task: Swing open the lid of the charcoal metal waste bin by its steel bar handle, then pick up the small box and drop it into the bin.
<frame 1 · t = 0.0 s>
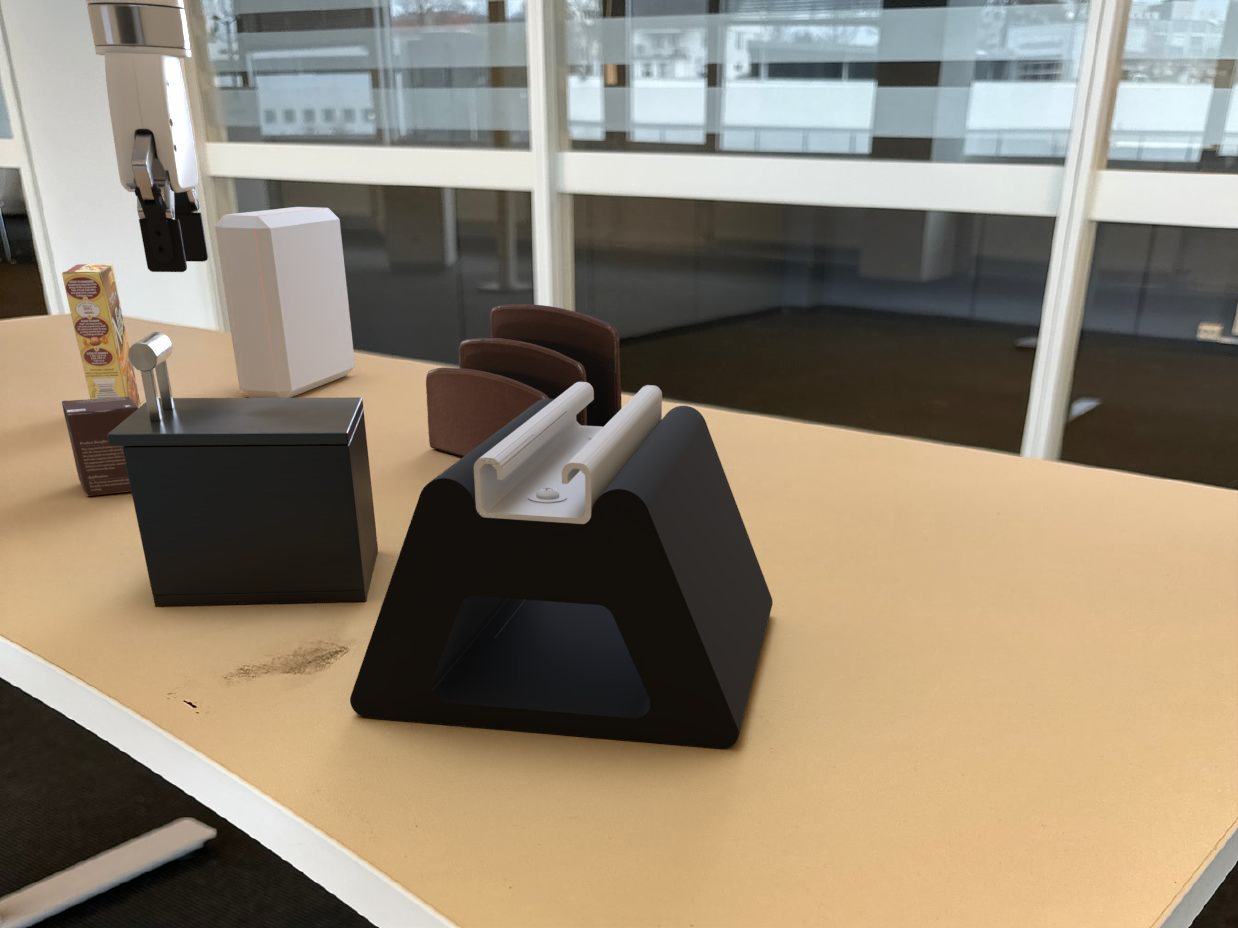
hand: (179, 265, 110), 18 cm above the table, tool pointing down, fingers open, 9 cm apart
candy box: (118, 416, 142), on the table
bin lid: (238, 382, 85), point 14 cm above the table, hinge at 0.0°
bevelled white case: (297, 387, 159), on the table
device stand: (583, 664, 79), on the table
letter holder: (524, 460, 127), on the table
waste bin: (273, 576, 92), on the table
box: (117, 489, 114), on the table
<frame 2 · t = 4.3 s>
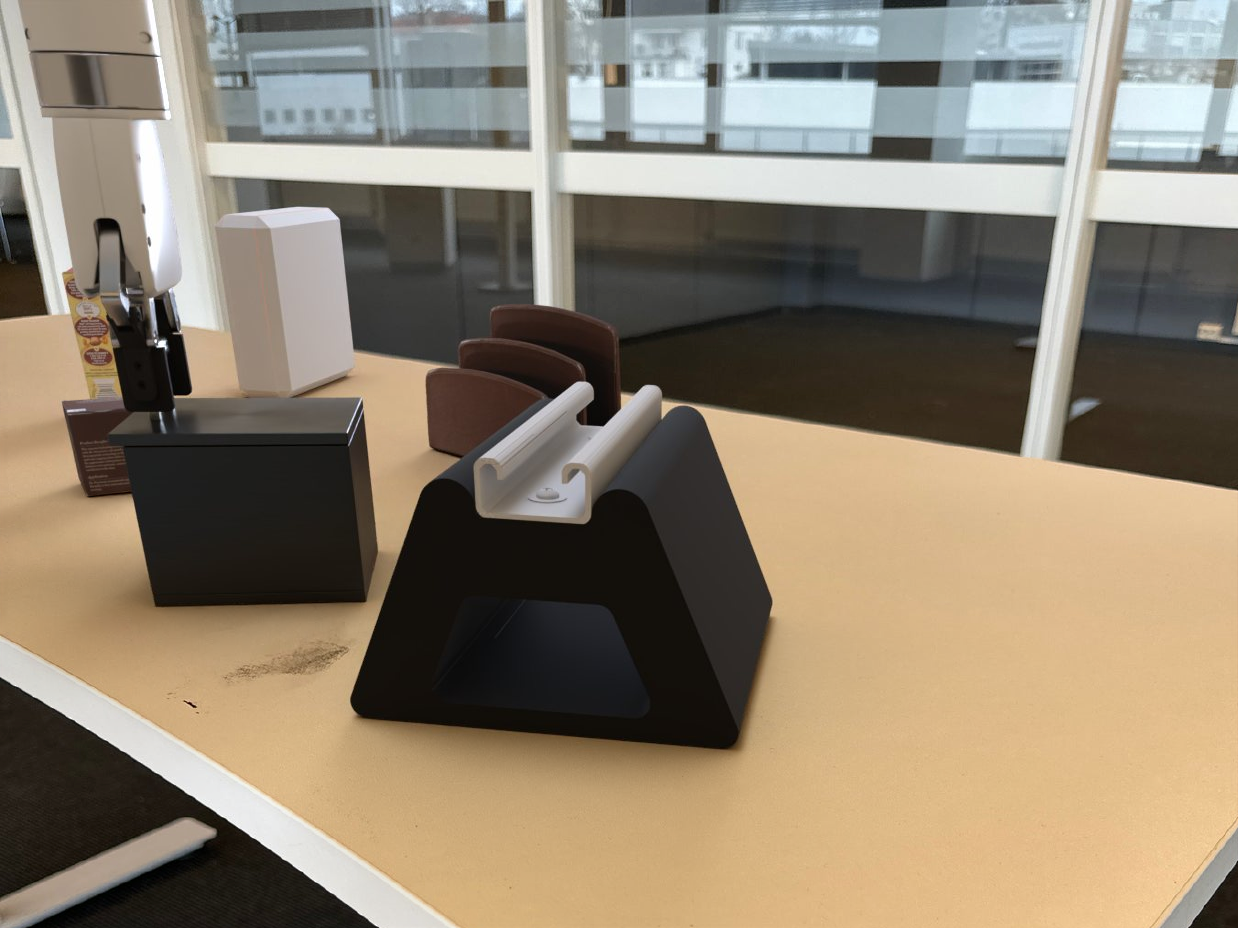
hand: (159, 399, 85), 13 cm above the table, tool pointing down, fingers closed on bin lid, 5 cm apart
bin lid: (238, 382, 85), point 14 cm above the table, hinge at 0.0°, touching gripper
everything else where it was.
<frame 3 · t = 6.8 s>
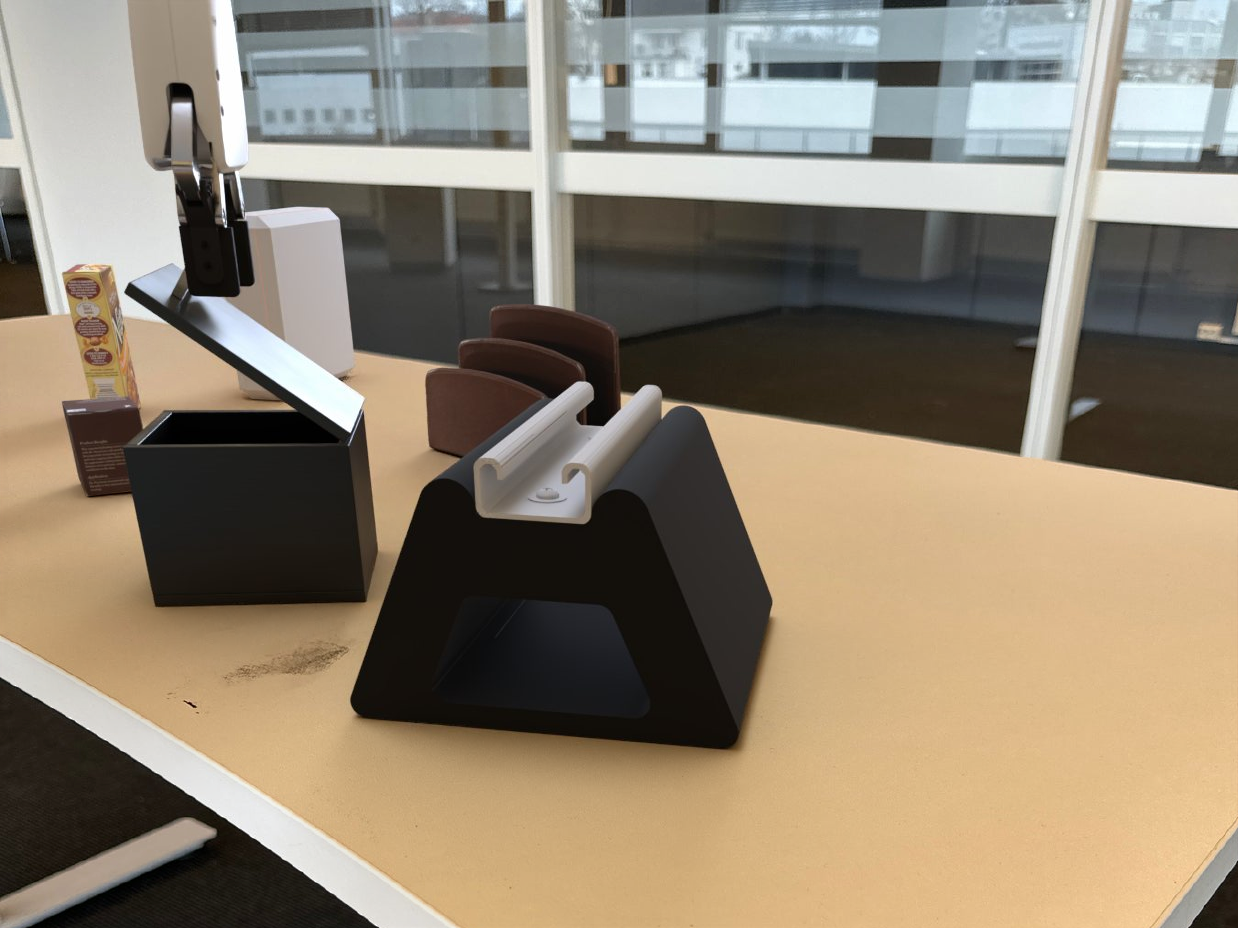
hand: (223, 287, 82), 20 cm above the table, tool pointing down, fingers closed on bin lid, 5 cm apart
bin lid: (274, 318, 83), point 18 cm above the table, hinge at 36.2°, touching gripper
everything else where it was.
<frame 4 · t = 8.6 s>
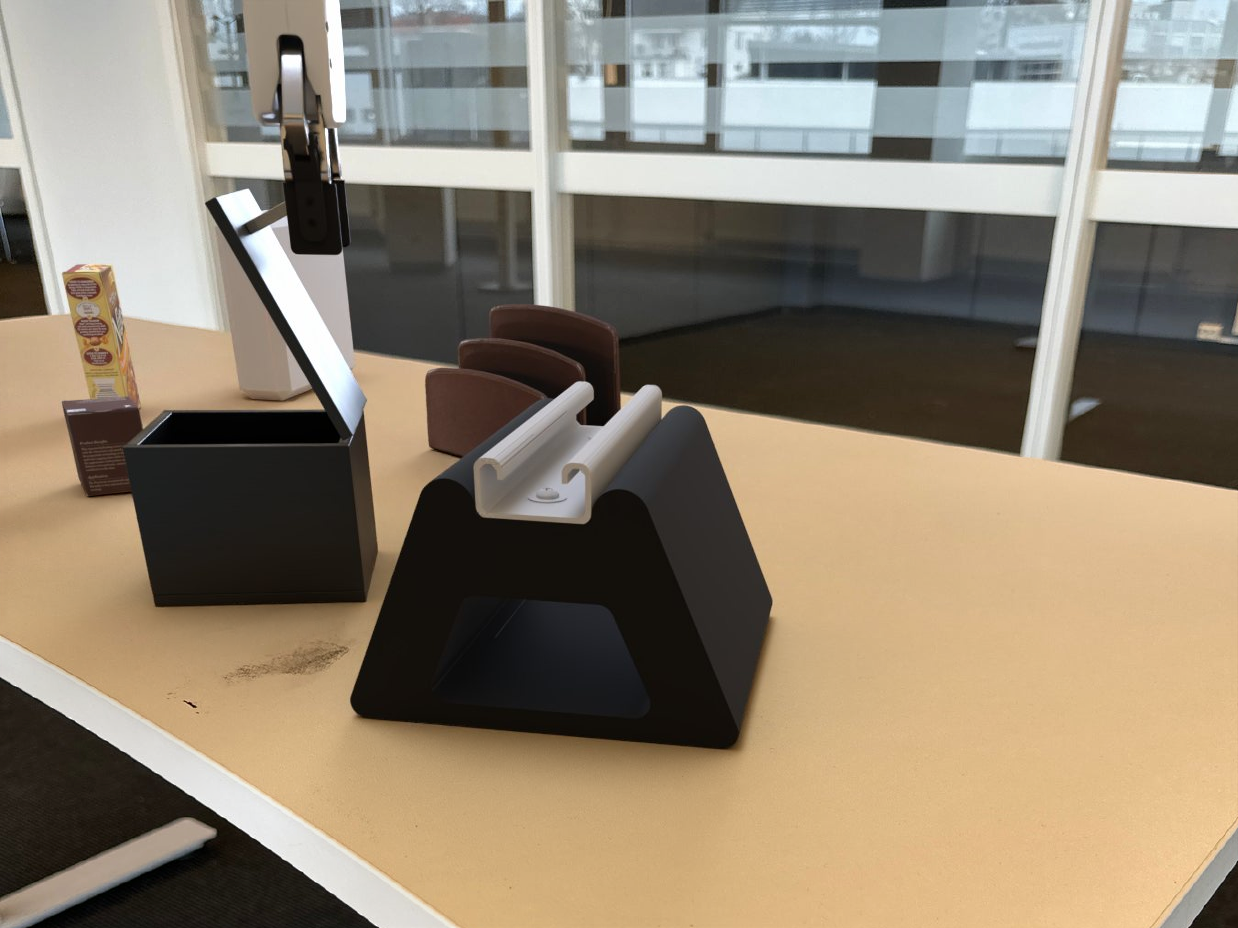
hand: (322, 246, 81), 22 cm above the table, tool pointing down, fingers closed on bin lid, 5 cm apart
bin lid: (326, 295, 83), point 19 cm above the table, hinge at 64.5°, touching gripper
everything else where it was.
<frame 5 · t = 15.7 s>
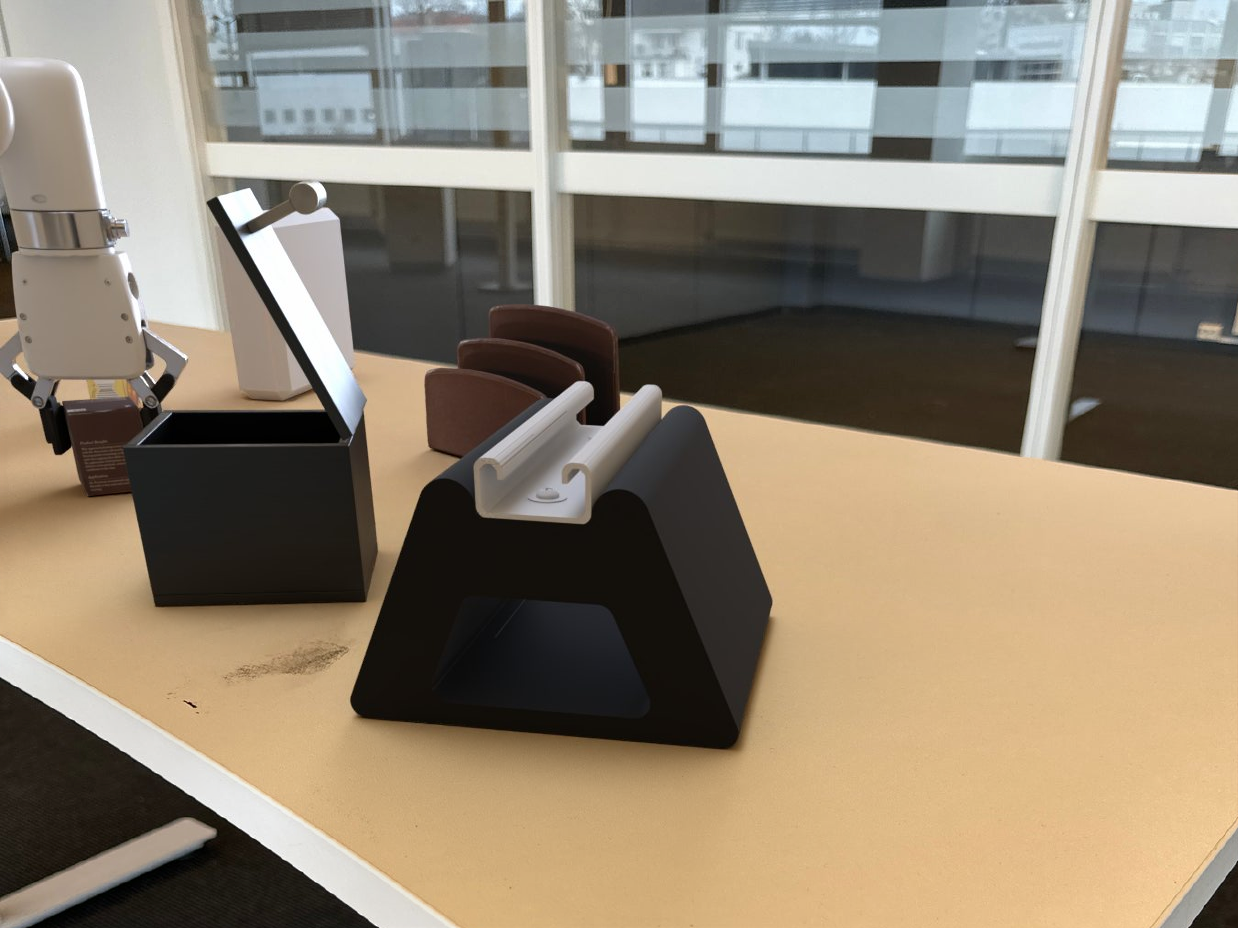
hand: (109, 450, 112), 3 cm above the table, tool pointing down, fingers closed on box, 7 cm apart
bin lid: (327, 295, 83), point 19 cm above the table, hinge at 64.9°
box: (117, 489, 114), on the table, touching gripper
everything else where it was.
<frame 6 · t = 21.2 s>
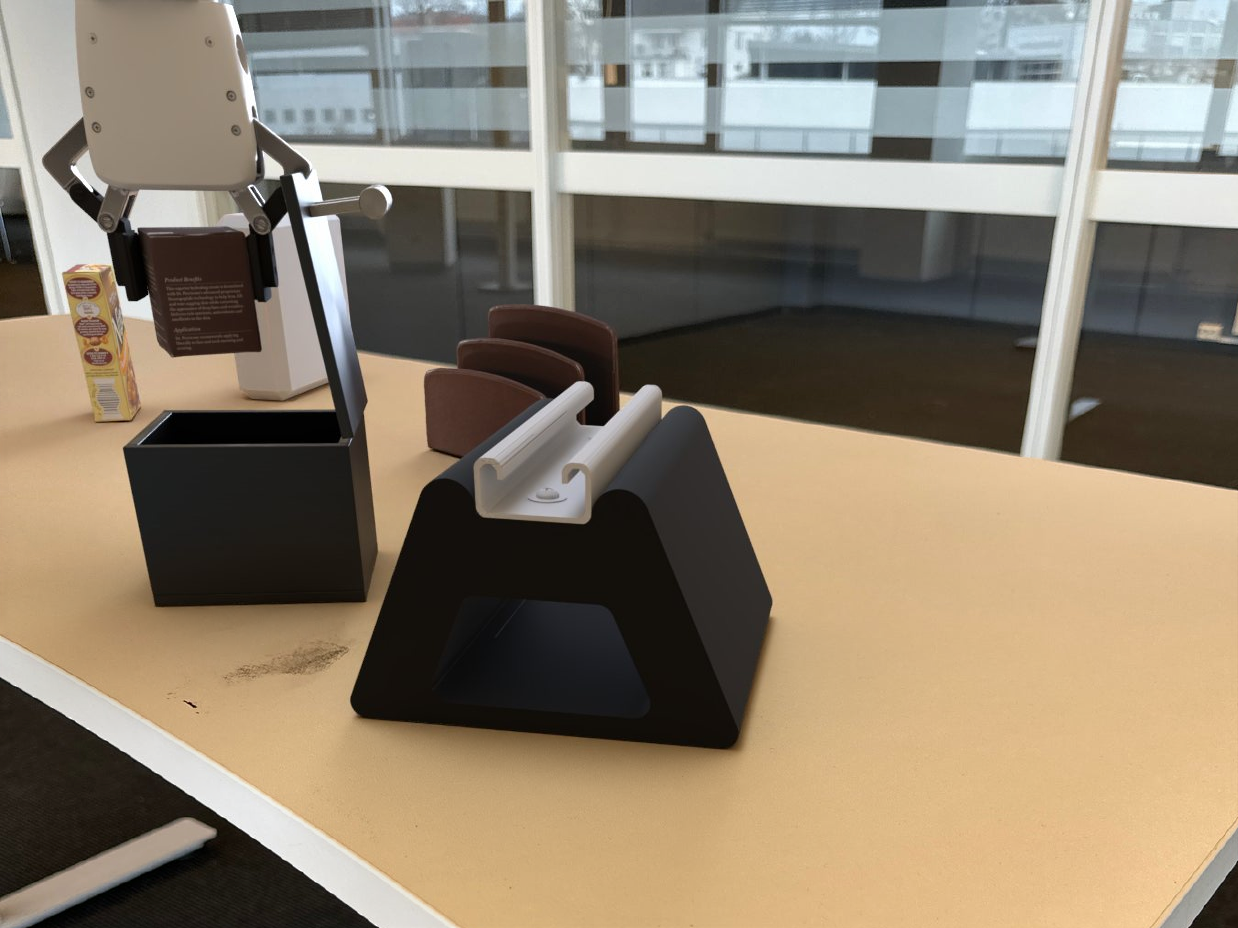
hand: (201, 297, 82), 19 cm above the table, tool pointing down, fingers closed on box, 7 cm apart
bin lid: (365, 296, 83), point 19 cm above the table, hinge at 82.6°
box: (210, 353, 84), point 16 cm above the table, touching gripper
everything else where it was.
when the fingers open (15 cm above the table, at t = 23.2 s): box drops 11 cm, resting on waste bin.
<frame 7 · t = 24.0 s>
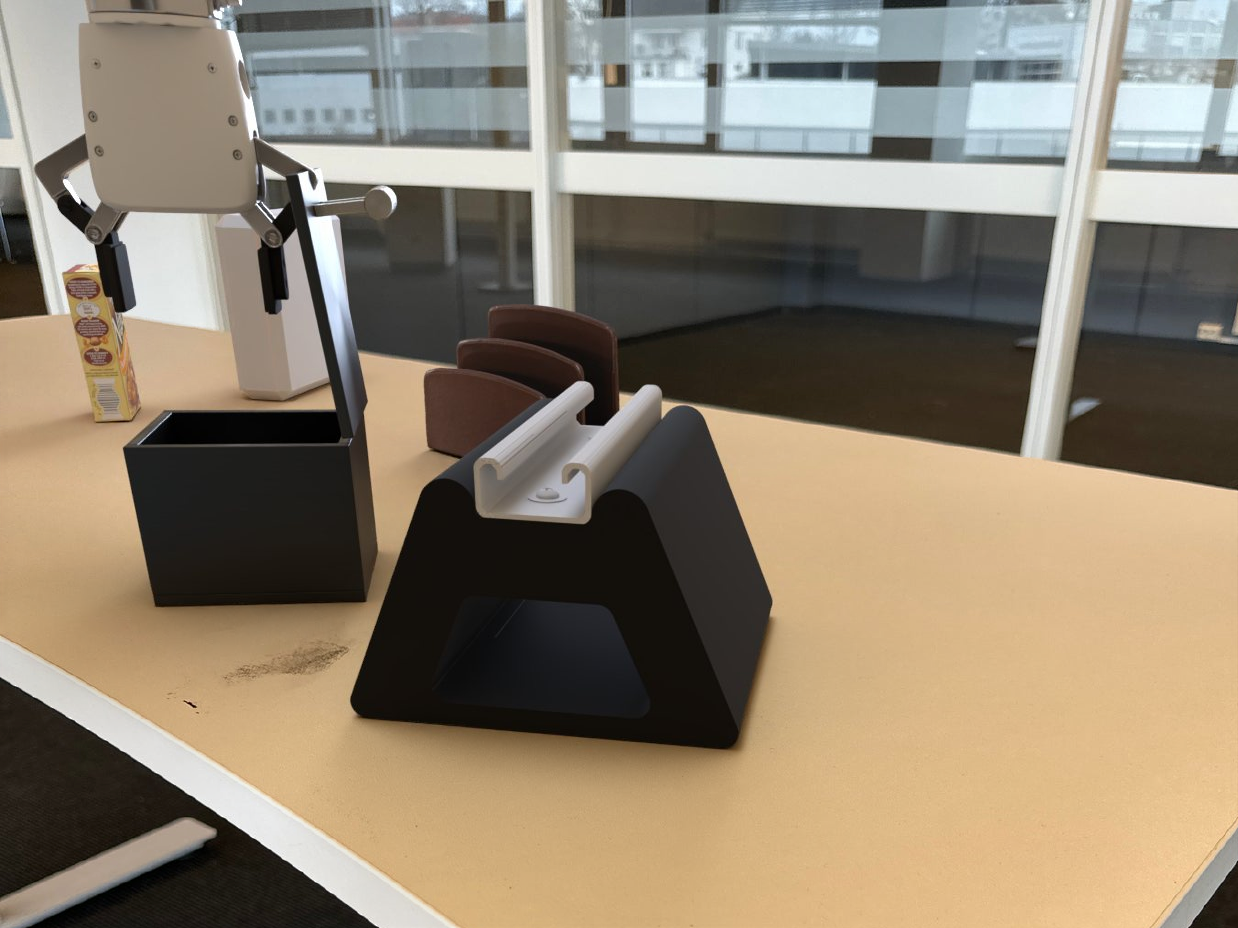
hand: (200, 310, 82), 18 cm above the table, tool pointing down, fingers open, 9 cm apart
bin lid: (368, 297, 83), point 19 cm above the table, hinge at 84.0°
box: (235, 570, 91), point 1 cm above the table, touching waste bin
everything else where it was.
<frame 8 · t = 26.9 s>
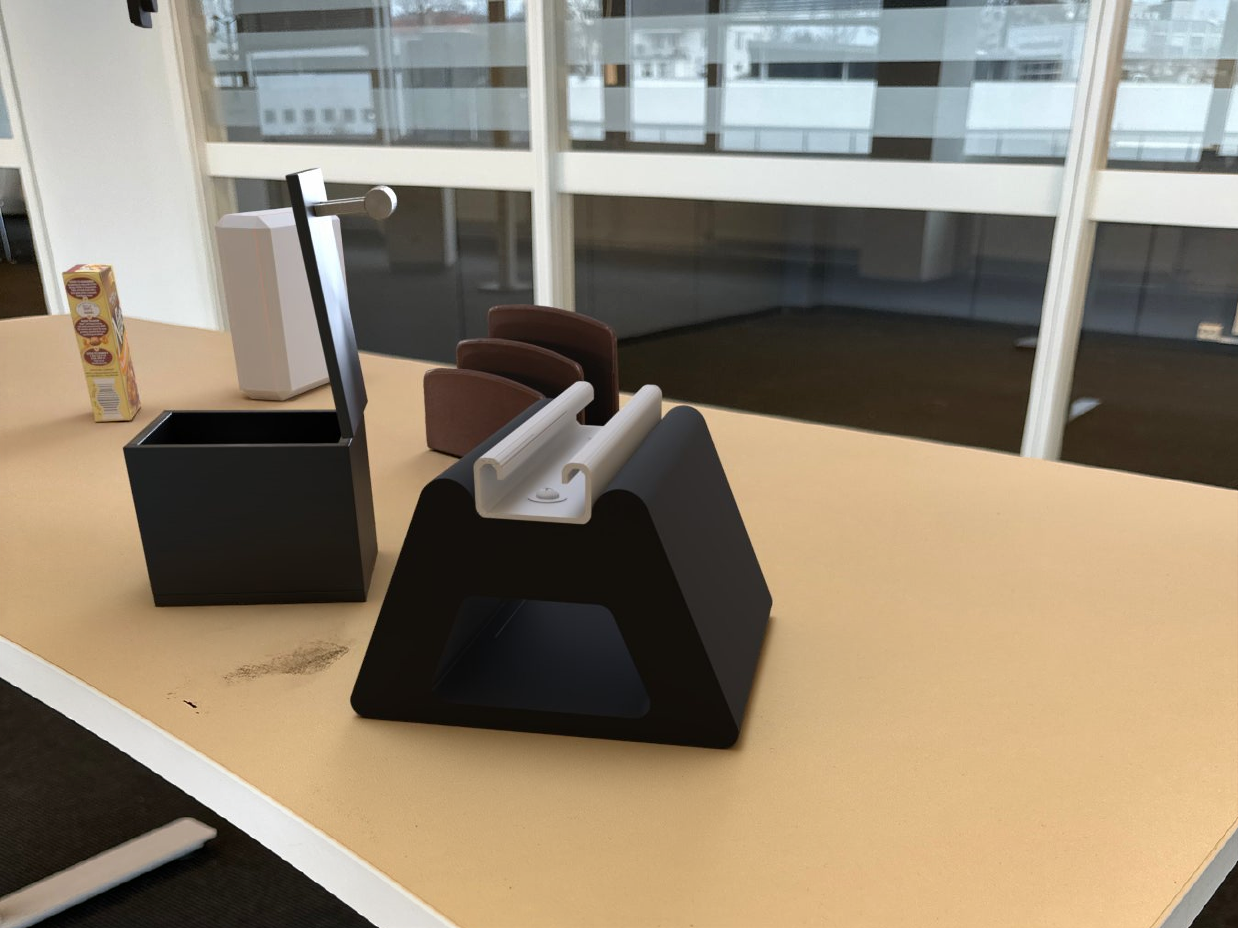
hand: (63, 24, 78), 34 cm above the table, tool pointing down, fingers open, 9 cm apart
nothing on the table moved.
at the end: bin lid at +84° (first picture: +0°); box inside the target area in the waste bin (2.6 cm from its centre), point 0.6 cm above the waste bin's base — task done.
